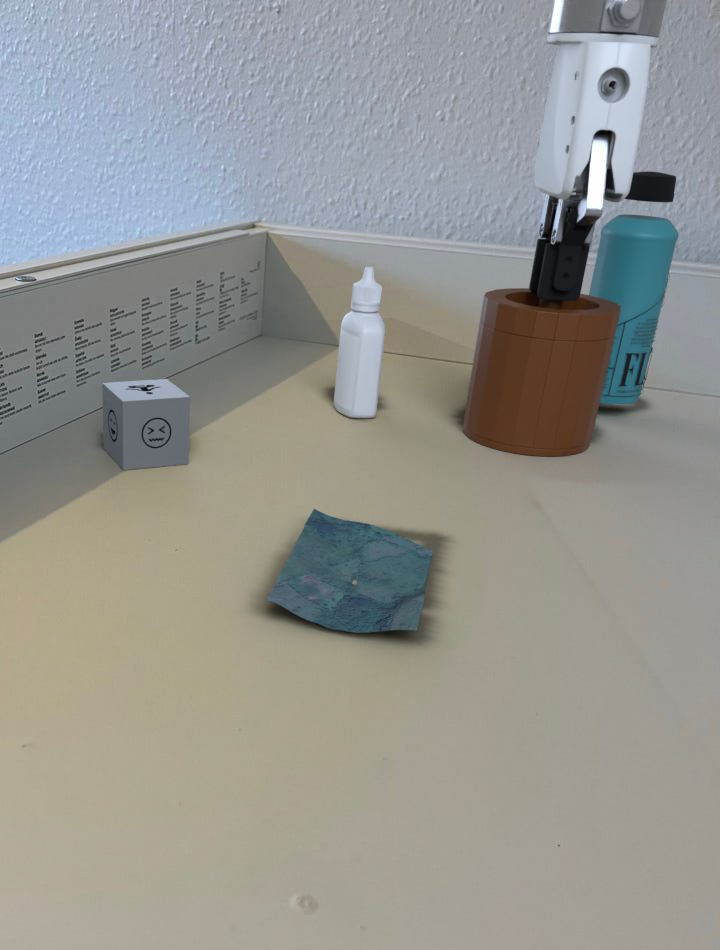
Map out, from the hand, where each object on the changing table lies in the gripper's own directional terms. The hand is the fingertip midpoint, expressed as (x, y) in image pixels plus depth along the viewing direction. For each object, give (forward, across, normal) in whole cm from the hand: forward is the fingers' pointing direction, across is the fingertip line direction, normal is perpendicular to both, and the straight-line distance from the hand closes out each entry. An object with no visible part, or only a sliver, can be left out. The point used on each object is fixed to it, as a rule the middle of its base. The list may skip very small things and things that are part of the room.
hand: (553, 294), depth 78 cm
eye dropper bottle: (+12, +5, +14) cm, 19 cm away
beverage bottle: (+12, +9, -9) cm, 17 cm away
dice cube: (+11, -10, +31) cm, 35 cm away
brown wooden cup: (+11, 0, 0) cm, 11 cm away
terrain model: (+12, -32, +17) cm, 38 cm away
